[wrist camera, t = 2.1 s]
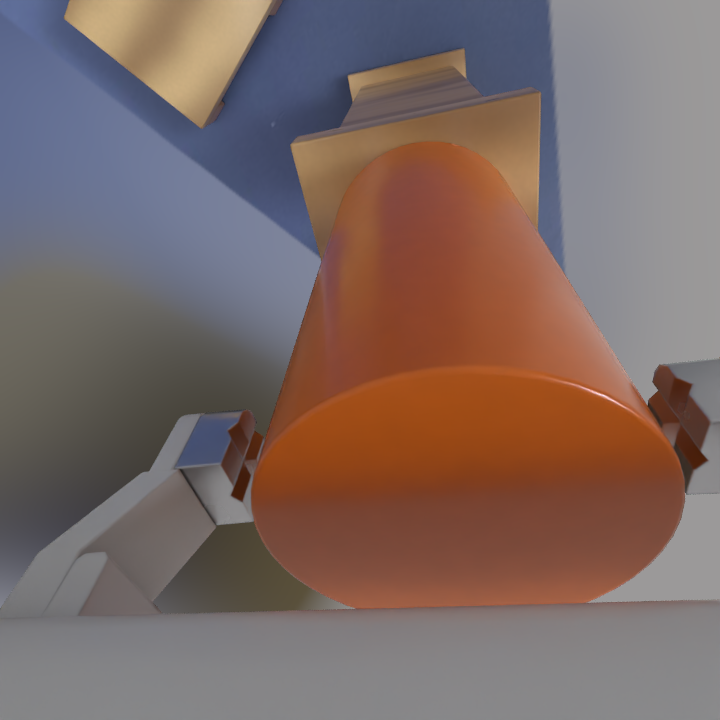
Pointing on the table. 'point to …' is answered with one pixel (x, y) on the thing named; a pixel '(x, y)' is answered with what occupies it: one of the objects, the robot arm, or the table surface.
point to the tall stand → (420, 131)
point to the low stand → (176, 44)
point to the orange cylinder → (456, 410)
